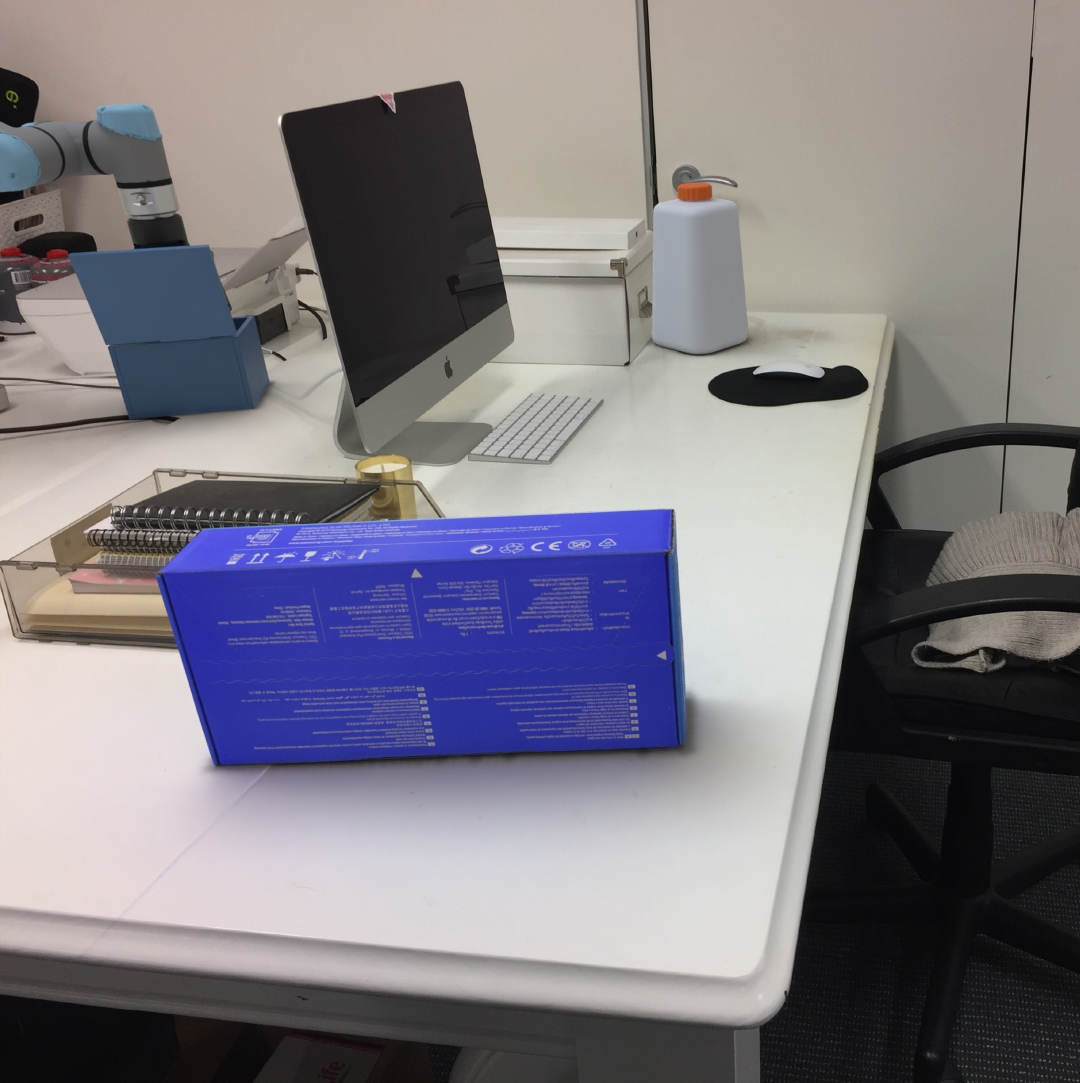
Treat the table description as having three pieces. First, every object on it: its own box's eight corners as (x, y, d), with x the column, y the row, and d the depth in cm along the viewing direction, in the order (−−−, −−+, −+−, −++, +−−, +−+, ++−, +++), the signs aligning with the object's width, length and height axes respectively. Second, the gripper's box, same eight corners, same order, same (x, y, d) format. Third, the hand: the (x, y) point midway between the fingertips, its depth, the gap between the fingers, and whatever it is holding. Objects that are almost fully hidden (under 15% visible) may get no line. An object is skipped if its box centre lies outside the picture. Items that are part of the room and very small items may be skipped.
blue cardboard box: (687, 693, 92) (677, 505, 84) (686, 752, 85) (675, 552, 77) (250, 708, 92) (197, 521, 84) (211, 769, 85) (148, 570, 76)
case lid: (69, 253, 147) (68, 255, 147) (208, 244, 150) (207, 247, 150) (107, 342, 157) (105, 345, 156) (237, 332, 160) (236, 335, 159)
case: (153, 393, 174) (133, 324, 169) (270, 383, 177) (254, 315, 172) (129, 420, 162) (107, 347, 157) (254, 409, 165) (237, 336, 160)
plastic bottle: (700, 327, 202) (694, 176, 190) (758, 340, 193) (756, 182, 180) (643, 344, 193) (633, 186, 180) (701, 359, 183) (694, 193, 171)
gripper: (71, 223, 151) (116, 374, 162) (220, 214, 155) (255, 362, 165) (88, 215, 158) (131, 360, 168) (230, 206, 161) (264, 349, 172)
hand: (192, 361), depth 167 cm, fingers closed on white cup, 8 cm apart
